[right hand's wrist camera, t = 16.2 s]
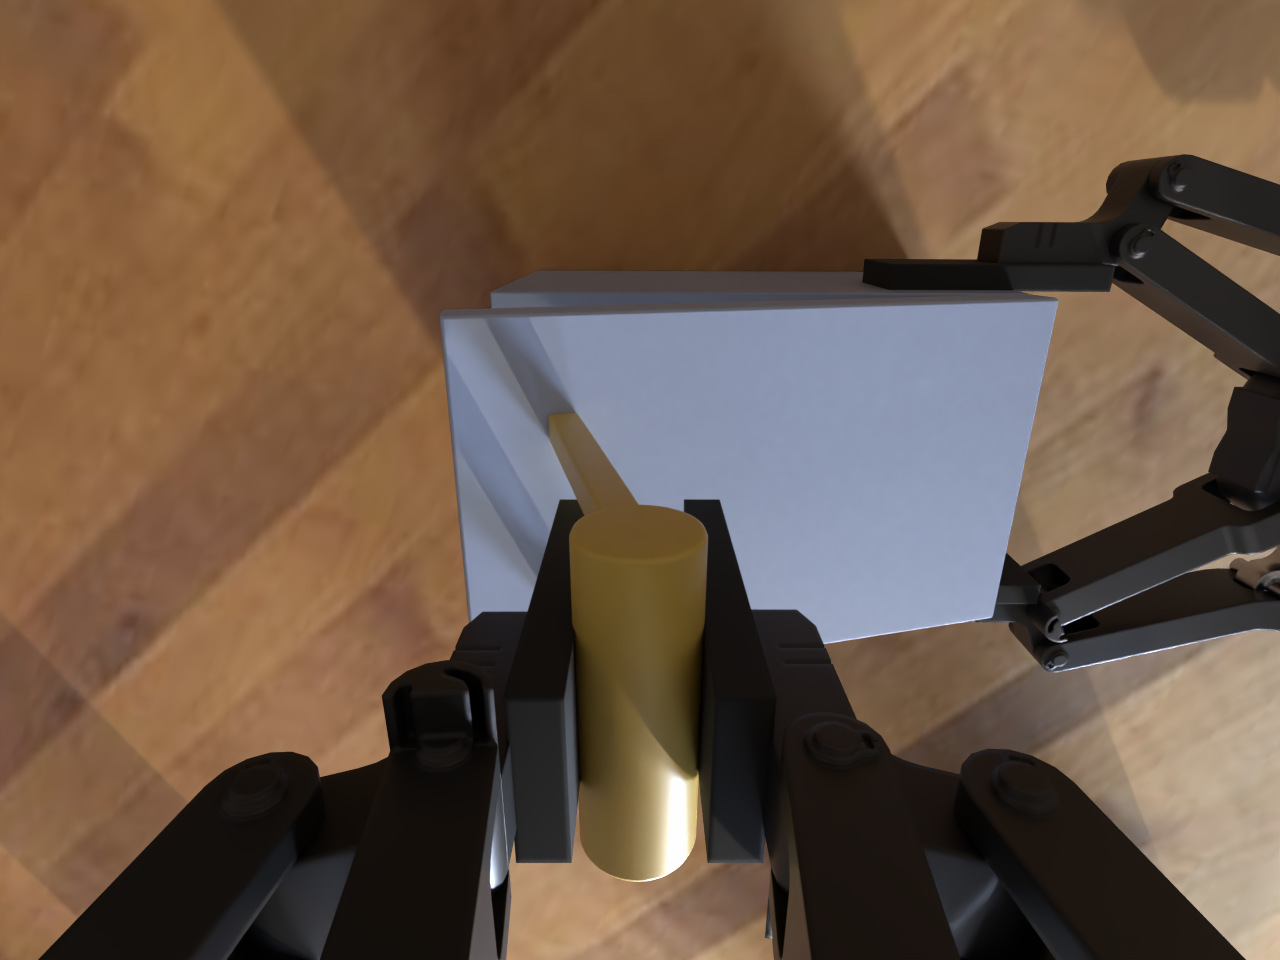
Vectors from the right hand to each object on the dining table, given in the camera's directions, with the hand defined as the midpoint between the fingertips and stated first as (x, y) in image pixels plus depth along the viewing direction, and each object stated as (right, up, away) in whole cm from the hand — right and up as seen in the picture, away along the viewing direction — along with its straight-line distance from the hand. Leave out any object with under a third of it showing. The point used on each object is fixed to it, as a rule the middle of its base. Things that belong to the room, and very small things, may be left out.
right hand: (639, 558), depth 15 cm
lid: (+3, +2, +4) cm, 6 cm away
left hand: (+7, +3, +9) cm, 12 cm away
